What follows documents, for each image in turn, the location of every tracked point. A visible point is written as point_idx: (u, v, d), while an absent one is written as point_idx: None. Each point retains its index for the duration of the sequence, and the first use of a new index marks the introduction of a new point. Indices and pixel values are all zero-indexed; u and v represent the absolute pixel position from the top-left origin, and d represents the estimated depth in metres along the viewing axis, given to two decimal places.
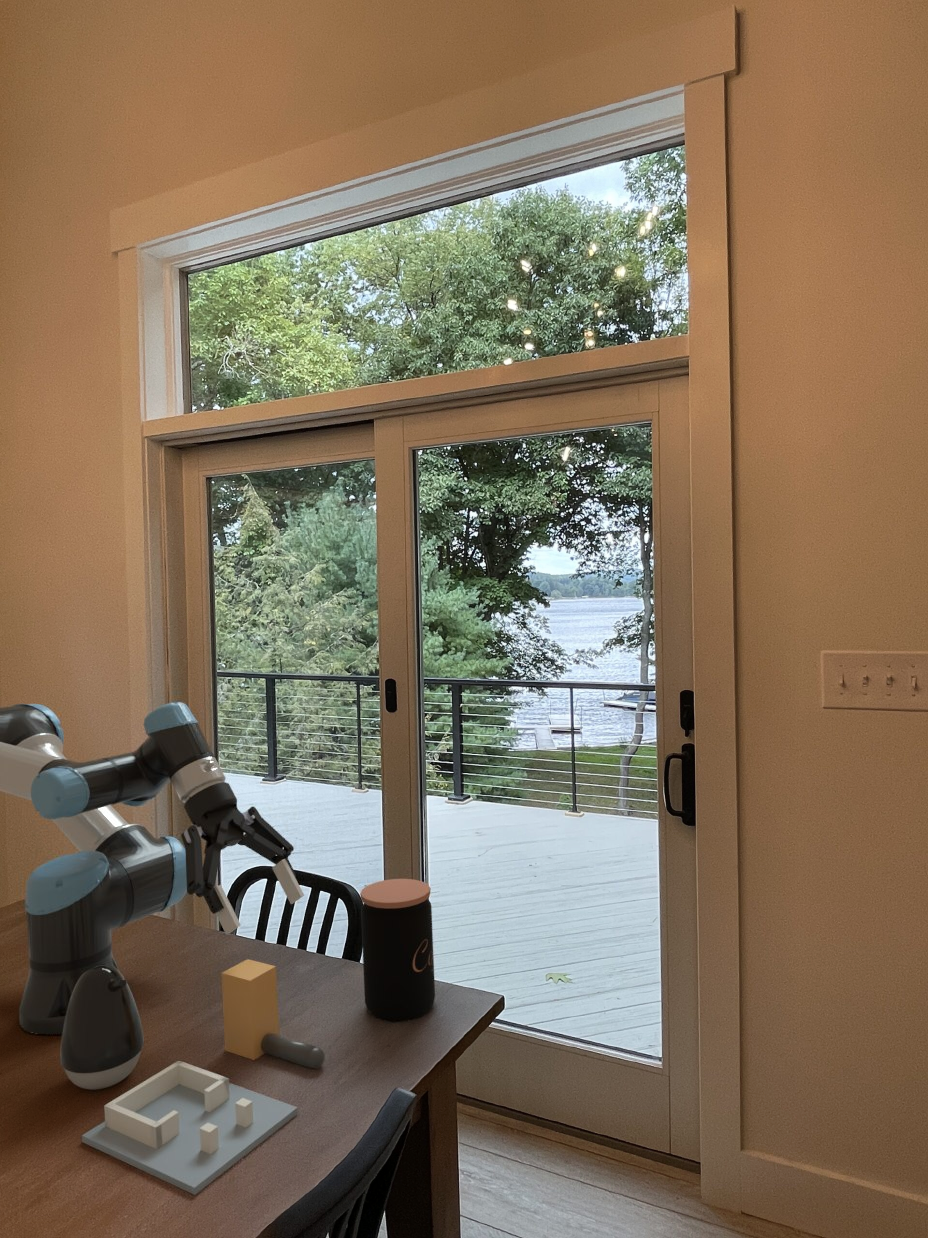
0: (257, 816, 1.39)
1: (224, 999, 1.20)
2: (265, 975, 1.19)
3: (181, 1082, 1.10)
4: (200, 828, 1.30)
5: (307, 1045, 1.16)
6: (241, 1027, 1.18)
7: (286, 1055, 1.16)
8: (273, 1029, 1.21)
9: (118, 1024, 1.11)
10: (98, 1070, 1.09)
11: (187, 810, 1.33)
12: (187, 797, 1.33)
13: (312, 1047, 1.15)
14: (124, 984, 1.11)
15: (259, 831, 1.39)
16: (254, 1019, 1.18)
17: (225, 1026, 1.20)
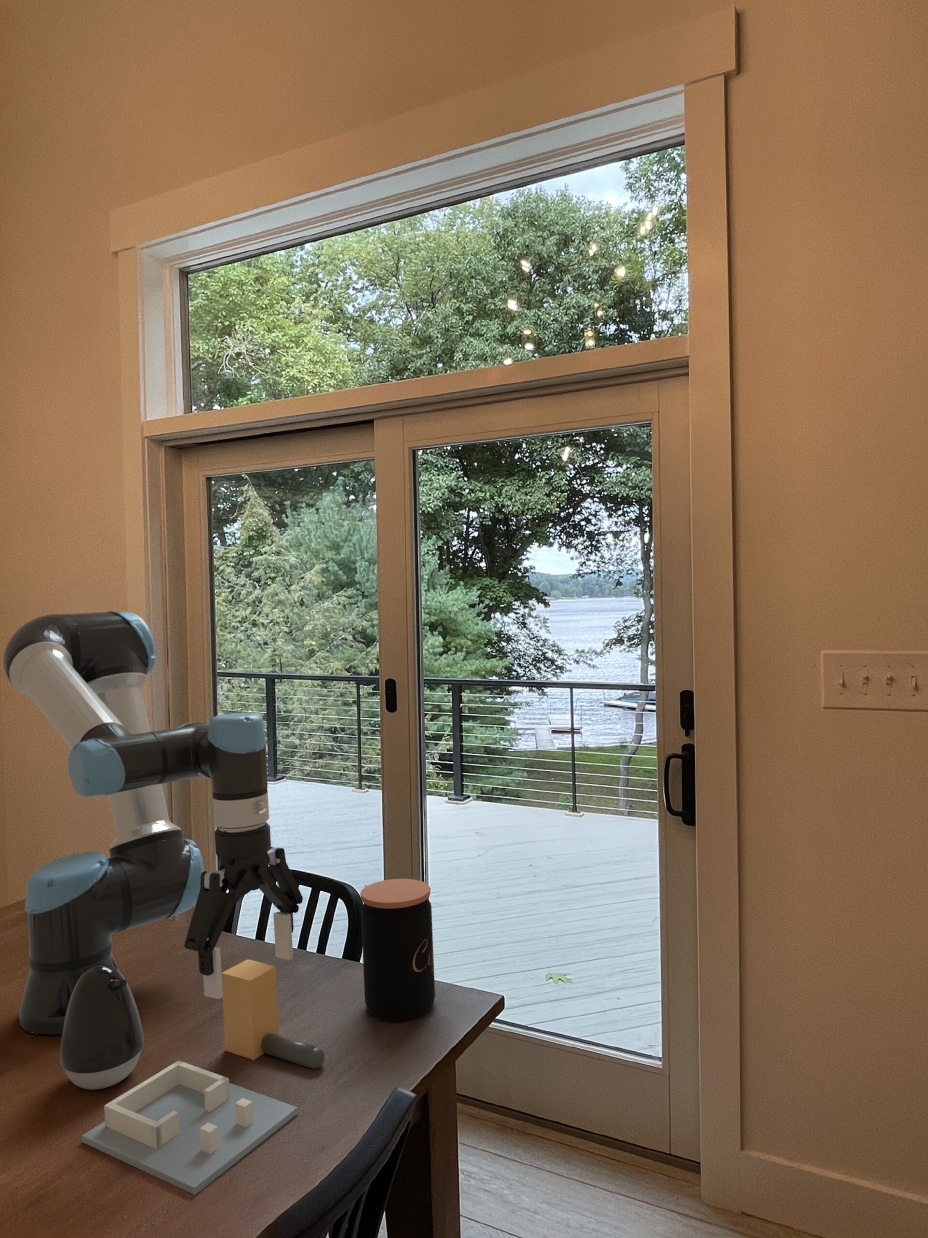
0: (282, 861, 1.25)
1: (224, 999, 1.20)
2: (265, 975, 1.19)
3: (181, 1082, 1.10)
4: (223, 873, 1.16)
5: (307, 1045, 1.16)
6: (241, 1027, 1.18)
7: (286, 1055, 1.16)
8: (273, 1029, 1.21)
9: (118, 1024, 1.11)
10: (98, 1070, 1.09)
11: (217, 841, 1.18)
12: (222, 829, 1.18)
13: (312, 1047, 1.15)
14: (124, 984, 1.11)
15: (277, 873, 1.26)
16: (254, 1019, 1.18)
17: (225, 1026, 1.20)
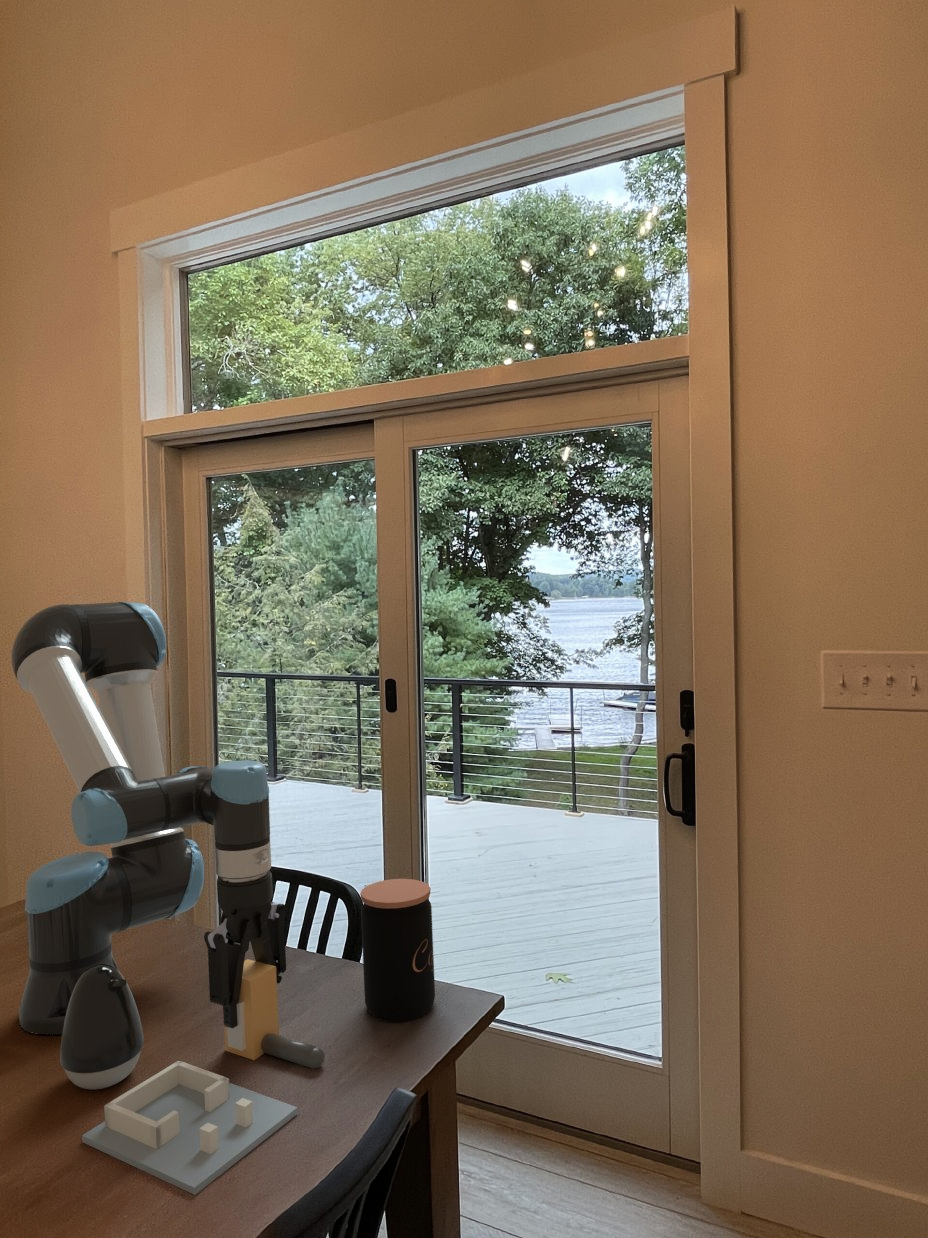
0: (281, 918, 1.25)
1: None
2: (265, 975, 1.19)
3: (181, 1082, 1.10)
4: (225, 928, 1.16)
5: (307, 1045, 1.16)
6: None
7: (286, 1055, 1.16)
8: (273, 1029, 1.21)
9: (118, 1024, 1.11)
10: (98, 1070, 1.09)
11: (219, 891, 1.18)
12: (225, 878, 1.18)
13: (312, 1047, 1.15)
14: (124, 984, 1.11)
15: (271, 931, 1.25)
16: (254, 1019, 1.18)
17: (225, 1026, 1.20)
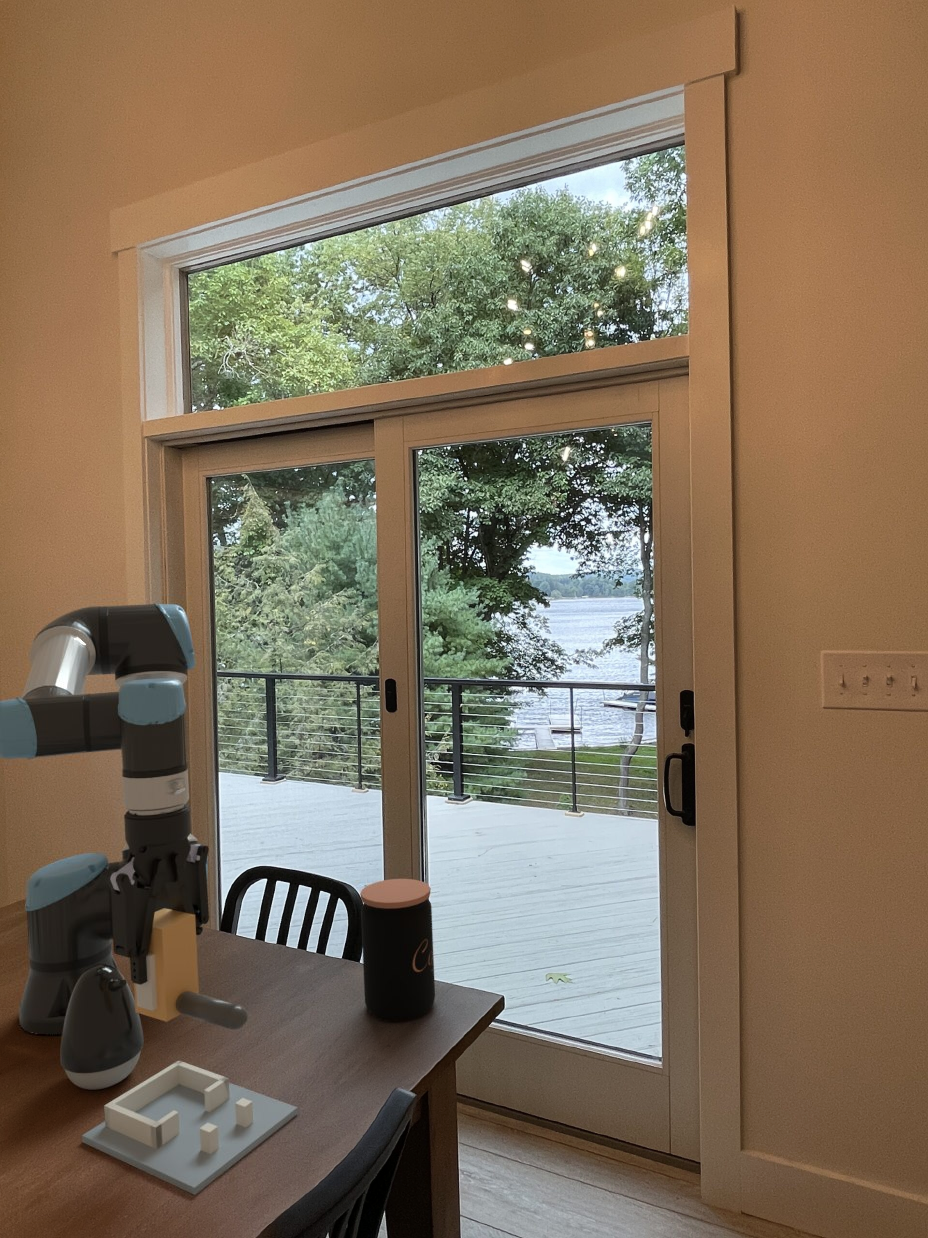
0: (202, 861, 1.09)
1: None
2: (181, 924, 1.03)
3: (181, 1082, 1.10)
4: (131, 867, 1.00)
5: (227, 1003, 1.00)
6: None
7: (203, 1015, 1.00)
8: (192, 987, 1.05)
9: (118, 1024, 1.11)
10: (98, 1070, 1.09)
11: (126, 825, 1.02)
12: (133, 811, 1.02)
13: (233, 1005, 0.99)
14: (124, 984, 1.11)
15: (191, 876, 1.09)
16: (167, 974, 1.01)
17: (135, 983, 1.04)
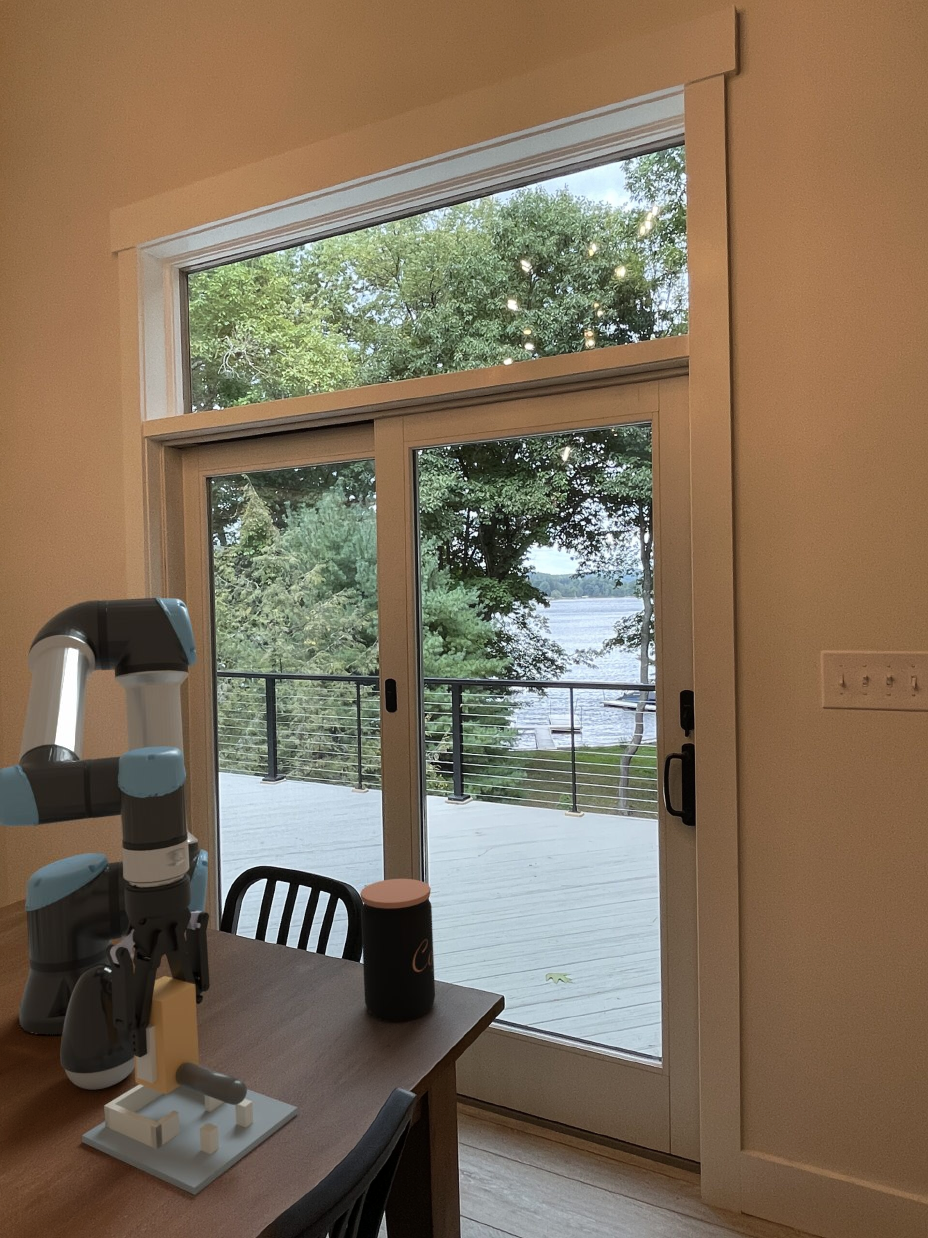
0: (203, 928, 1.08)
1: None
2: (181, 995, 1.03)
3: None
4: (131, 940, 1.00)
5: (227, 1077, 0.99)
6: None
7: (202, 1088, 0.99)
8: (192, 1057, 1.04)
9: None
10: (98, 1070, 1.09)
11: (126, 897, 1.02)
12: (132, 882, 1.02)
13: (232, 1079, 0.99)
14: None
15: (192, 943, 1.08)
16: (166, 1046, 1.01)
17: None
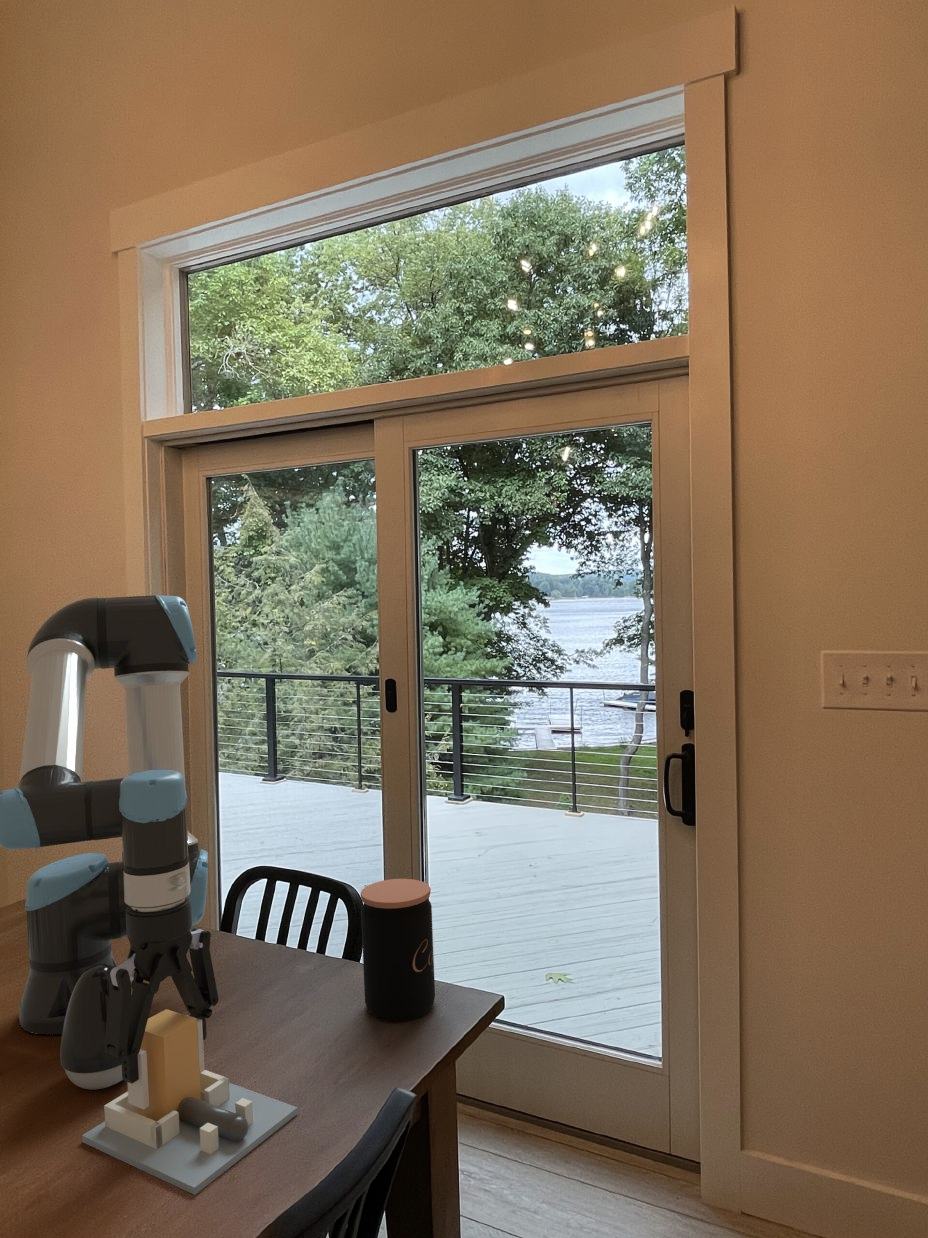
0: (206, 947, 1.09)
1: None
2: (183, 1030, 1.03)
3: None
4: (132, 963, 1.00)
5: (228, 1113, 1.00)
6: (154, 1091, 1.02)
7: (204, 1124, 1.00)
8: (193, 1091, 1.05)
9: None
10: (98, 1070, 1.09)
11: (127, 921, 1.02)
12: (134, 907, 1.02)
13: (234, 1116, 0.99)
14: None
15: (196, 961, 1.09)
16: (168, 1082, 1.01)
17: None
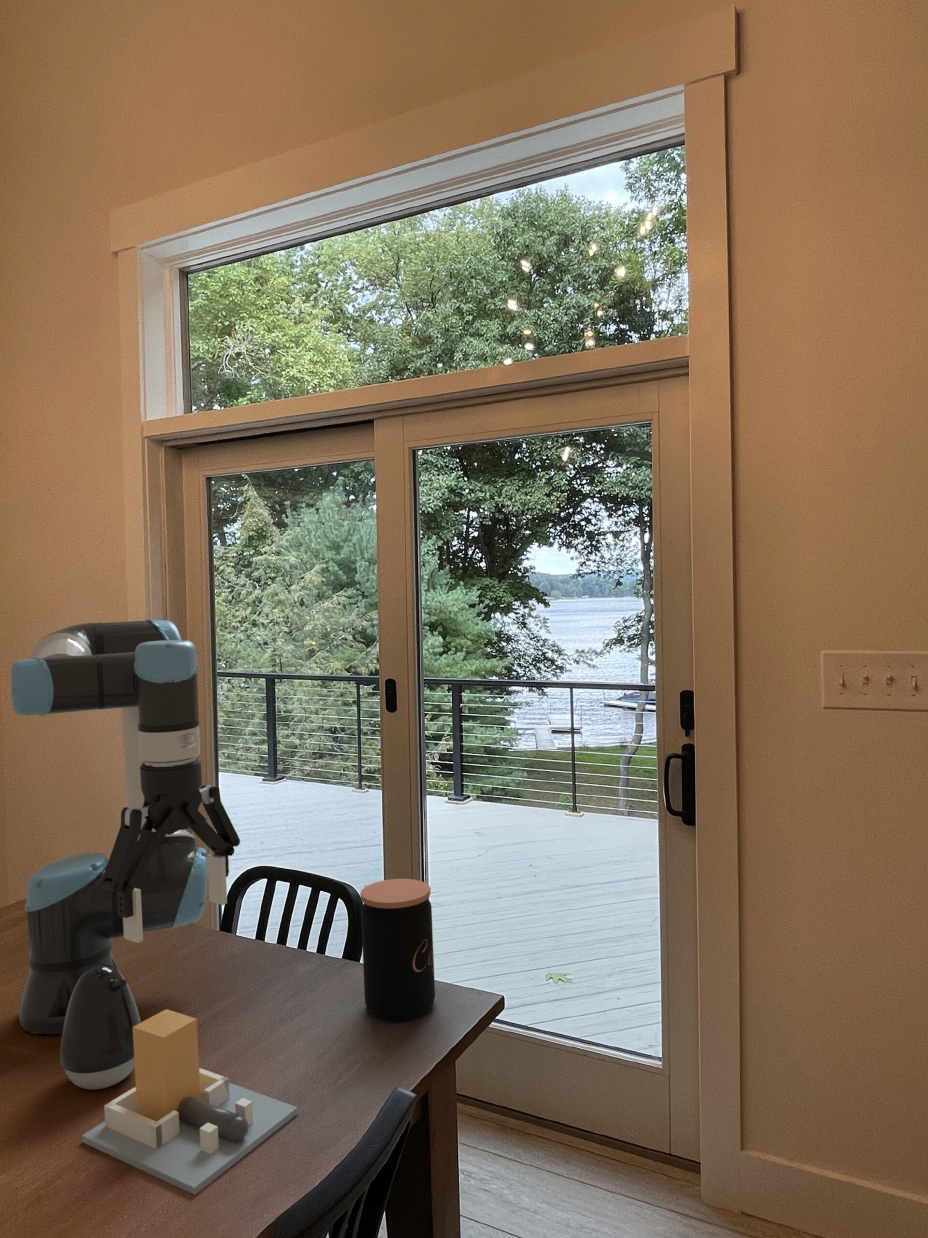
0: (217, 800, 1.17)
1: (136, 1057, 1.04)
2: (183, 1030, 1.03)
3: None
4: (146, 810, 1.08)
5: (228, 1113, 1.00)
6: (154, 1091, 1.02)
7: (204, 1124, 1.00)
8: (193, 1091, 1.05)
9: (118, 1024, 1.11)
10: (98, 1070, 1.09)
11: (141, 776, 1.09)
12: (148, 763, 1.09)
13: (234, 1116, 0.99)
14: (124, 984, 1.11)
15: (211, 813, 1.18)
16: (168, 1082, 1.01)
17: (137, 1088, 1.04)
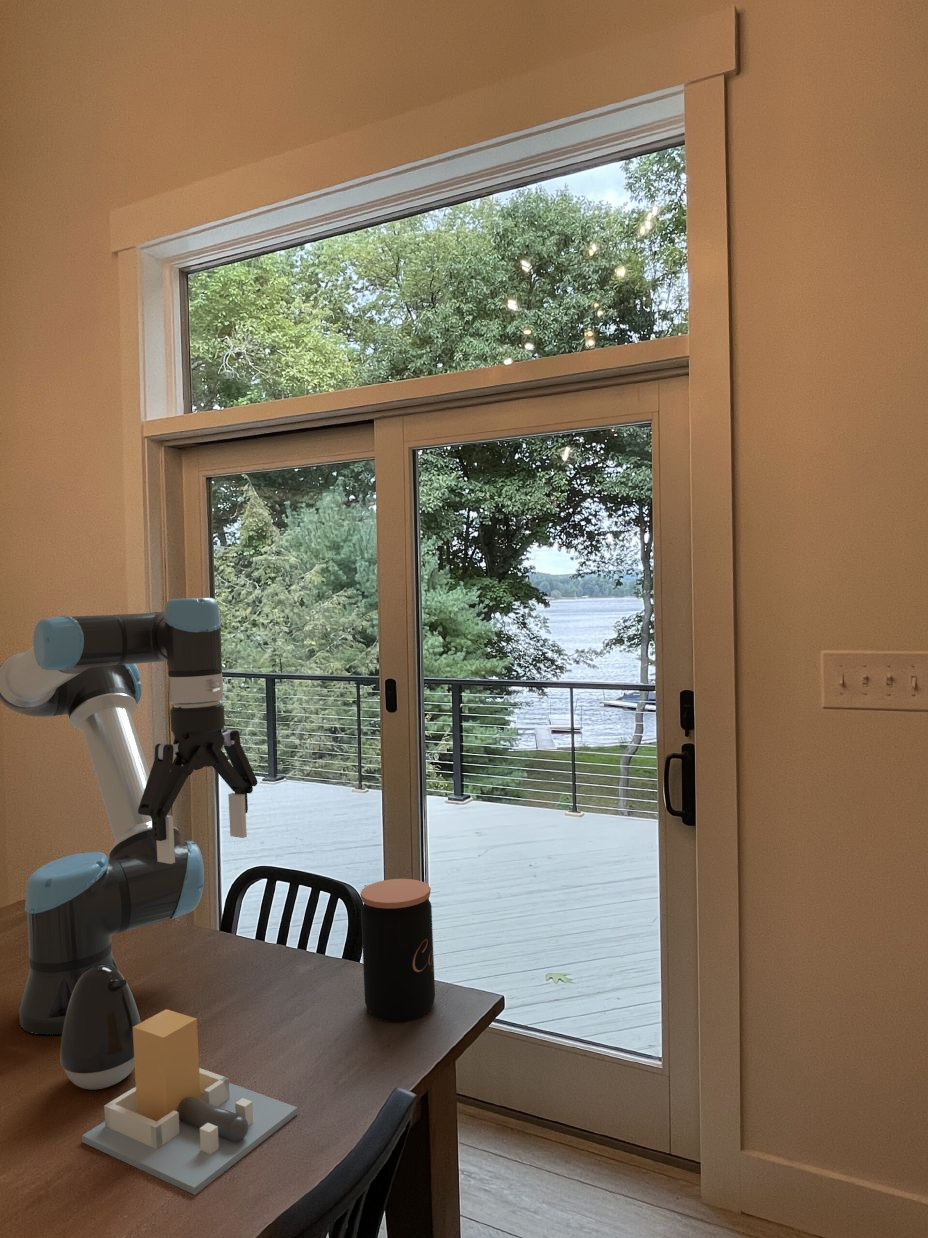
0: (237, 742, 1.30)
1: (136, 1057, 1.04)
2: (183, 1030, 1.03)
3: None
4: (177, 746, 1.21)
5: (228, 1113, 1.00)
6: (154, 1091, 1.02)
7: (204, 1124, 1.00)
8: (193, 1091, 1.05)
9: (118, 1024, 1.11)
10: (98, 1070, 1.09)
11: (172, 717, 1.23)
12: (177, 705, 1.23)
13: (234, 1116, 0.99)
14: (124, 984, 1.11)
15: (232, 755, 1.31)
16: (168, 1082, 1.01)
17: (137, 1088, 1.04)
